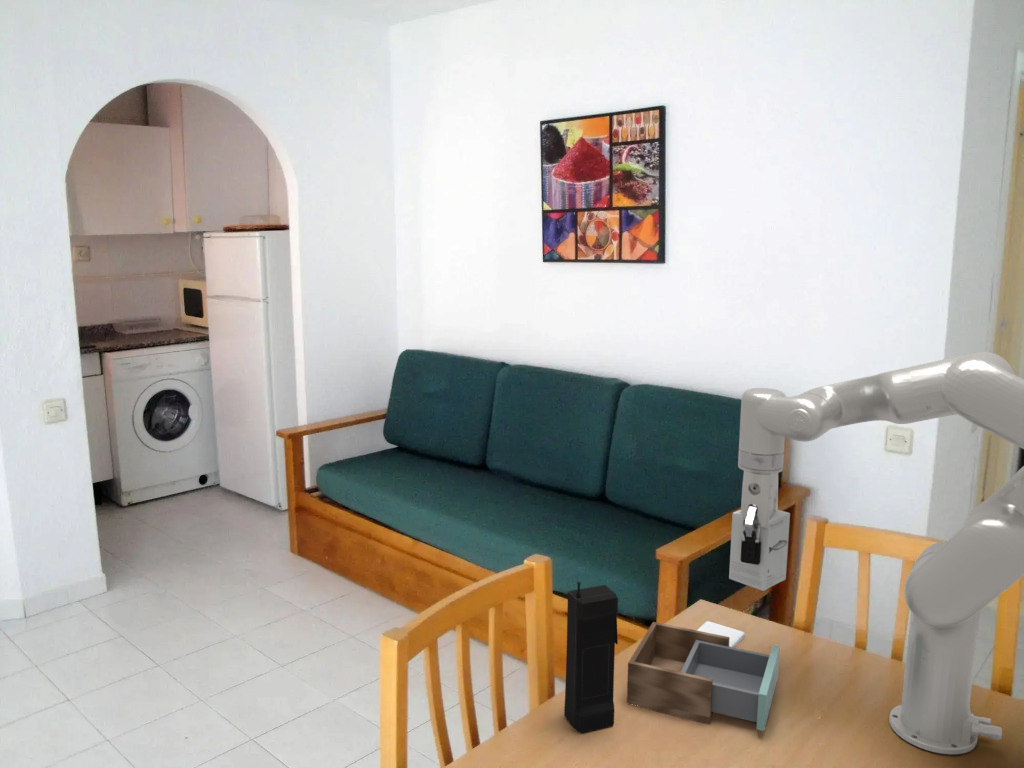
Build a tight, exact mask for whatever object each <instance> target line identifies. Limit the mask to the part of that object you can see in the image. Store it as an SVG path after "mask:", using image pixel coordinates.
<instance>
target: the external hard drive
mask: <svg viewBox="0 0 1024 768" xmlns="http://www.w3.org/2000/svg"><path fill="white" fill-rule="evenodd" d="M695 630H696V631H701V632H706V633H711V634H716V635H721V636H726V637H730V638H729V647H733V648H736V646H737V645H738V644H739V643H740V642H741V641H742V640H744V638H745V637H746V636H745V632H744V631H742V630H739V629H735V628H732V627H730V626H729V627H728V626H726V625H722V624H719V623H715V622H712V621H709V620H706V621H705V622H704V623H703V624H702V625H701V626H700V627H699V628H697V629H695Z"/></svg>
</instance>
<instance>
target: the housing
mask: <svg viewBox="0 0 1024 768" xmlns="http://www.w3.org/2000/svg"><path fill="white" fill-rule="evenodd" d="M696 630H697V629H691V628H685V627H681V626H676V625H673V624H672V625H671V624H666V623H661V622H658V621H656V622H655V621H652V623H651V625H650V626H649V627H648V629H647V631H646V633H645V635H644V636H643V638H642V639H641V641H640V643H639V644H638V646H637V647H636V649H635V651H634V652H633V654H632V656H630V659H629V661H628V662H627V682H626V683H627V684H626V685H627V686H626V687H627V688H626V704H627V703H629V704H628V705H630V704H633V705H632V706H634V705H636V706H635V707H638V706H640V707H639V708H642V707H644V708H643V709H646V708H649V709H648V710H650V709H652V710H651V711H654V710H656V711H655V712H658V711H659V713H662V712H663V713H662V714H667V715H671V716H675V717H679V718H683V719H687V720H690V721H695V722H700V723H704V724H707V725H711V722H712V718H713V716H714V714H715V712H712V711H711V704H712V685H713V679H709V678H705V677H701V676H696V675H692V674H687V673H683V672H681V670H682V668H683V666H684V664H685V662H686V660H687V658H688V656H689V653H690V651H691V649H692V647H693V645H694V643H695V641H696V640H699V641H704V642H709V643H714V644H719V645H724V646H728V647H729V638H730V637H726V636H721V635H716V634H711V633H706V632H701V631H696ZM637 705H638V706H637Z"/></svg>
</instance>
